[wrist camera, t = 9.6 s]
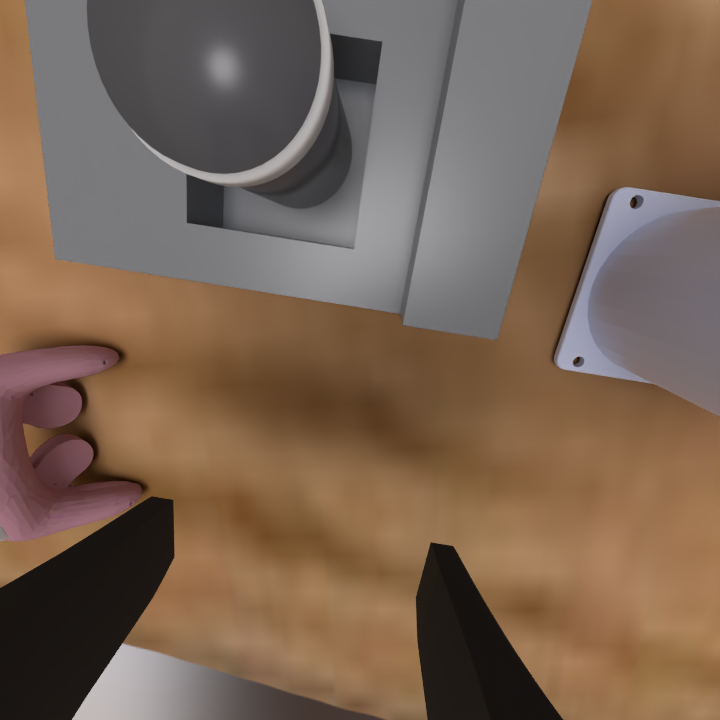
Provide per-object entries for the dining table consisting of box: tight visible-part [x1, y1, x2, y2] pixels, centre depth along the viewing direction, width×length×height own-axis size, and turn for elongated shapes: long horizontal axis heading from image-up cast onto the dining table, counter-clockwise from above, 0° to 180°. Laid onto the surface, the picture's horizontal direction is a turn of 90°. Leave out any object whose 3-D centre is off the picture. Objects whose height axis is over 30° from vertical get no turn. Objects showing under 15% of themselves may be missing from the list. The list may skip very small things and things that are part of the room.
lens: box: [87, 0, 352, 209], centre depth 10 cm, size 5×5×8 cm
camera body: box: [25, 0, 592, 340], centre depth 12 cm, size 16×10×6 cm, turn 82°
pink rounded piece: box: [0, 345, 142, 542], centre depth 18 cm, size 10×5×7 cm, turn 178°
